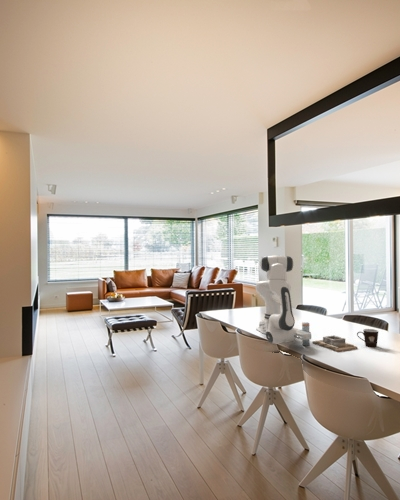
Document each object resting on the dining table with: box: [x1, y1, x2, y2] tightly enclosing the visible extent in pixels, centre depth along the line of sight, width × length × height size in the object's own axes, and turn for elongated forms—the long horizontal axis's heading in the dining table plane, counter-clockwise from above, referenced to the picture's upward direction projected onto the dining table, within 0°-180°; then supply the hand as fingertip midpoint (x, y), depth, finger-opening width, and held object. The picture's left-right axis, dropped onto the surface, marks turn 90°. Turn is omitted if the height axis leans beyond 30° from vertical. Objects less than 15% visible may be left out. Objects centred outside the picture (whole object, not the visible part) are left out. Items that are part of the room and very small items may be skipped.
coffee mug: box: [356, 328, 379, 349], centre depth 216 cm, size 12×9×10 cm
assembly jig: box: [311, 335, 358, 353], centre depth 216 cm, size 22×16×5 cm
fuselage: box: [301, 321, 311, 347], centre depth 219 cm, size 4×4×14 cm
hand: (306, 332), depth 219 cm, fingers closed on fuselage, 4 cm apart
